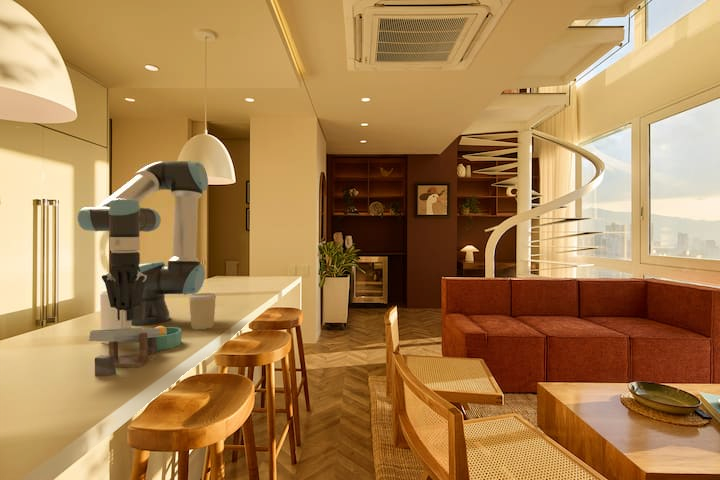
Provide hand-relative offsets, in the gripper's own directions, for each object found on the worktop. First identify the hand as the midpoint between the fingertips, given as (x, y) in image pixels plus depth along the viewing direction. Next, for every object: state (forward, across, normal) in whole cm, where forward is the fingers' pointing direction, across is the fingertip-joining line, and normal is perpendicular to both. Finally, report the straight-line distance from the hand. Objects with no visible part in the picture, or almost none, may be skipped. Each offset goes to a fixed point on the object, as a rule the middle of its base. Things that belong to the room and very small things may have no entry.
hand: (125, 331), depth 110 cm
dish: (+7, +6, +8) cm, 12 cm away
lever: (+1, +3, -8) cm, 9 cm away
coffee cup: (+7, +8, +31) cm, 33 cm away
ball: (+2, +6, +7) cm, 10 cm away
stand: (+7, +6, -7) cm, 11 cm away
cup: (+7, -12, +12) cm, 18 cm away
